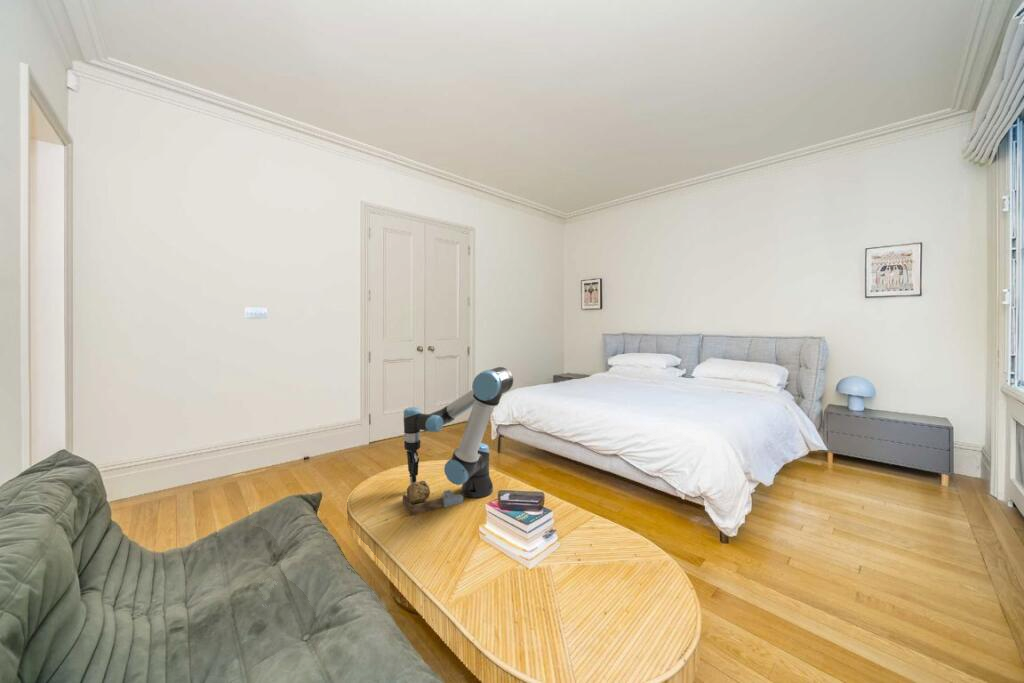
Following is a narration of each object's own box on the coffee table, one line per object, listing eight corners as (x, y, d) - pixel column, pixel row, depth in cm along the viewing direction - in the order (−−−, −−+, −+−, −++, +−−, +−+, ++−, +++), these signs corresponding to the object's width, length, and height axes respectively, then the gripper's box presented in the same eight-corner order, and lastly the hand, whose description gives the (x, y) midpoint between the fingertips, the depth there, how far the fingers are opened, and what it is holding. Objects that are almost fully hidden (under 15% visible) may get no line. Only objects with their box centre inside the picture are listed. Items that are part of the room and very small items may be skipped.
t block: (455, 494, 186) (455, 488, 186) (463, 502, 178) (463, 496, 178) (437, 499, 182) (437, 492, 181) (444, 507, 174) (444, 501, 174)
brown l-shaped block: (434, 495, 185) (434, 488, 185) (443, 506, 175) (443, 499, 174) (402, 503, 178) (402, 495, 178) (410, 515, 167) (409, 507, 167)
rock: (405, 499, 182) (405, 478, 181) (427, 495, 186) (427, 474, 185) (409, 511, 171) (408, 489, 170) (433, 506, 175) (432, 485, 174)
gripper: (400, 437, 191) (402, 484, 193) (408, 445, 180) (409, 495, 182) (416, 435, 195) (417, 481, 197) (424, 442, 184) (425, 491, 186)
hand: (413, 487), depth 189 cm, fingers closed
